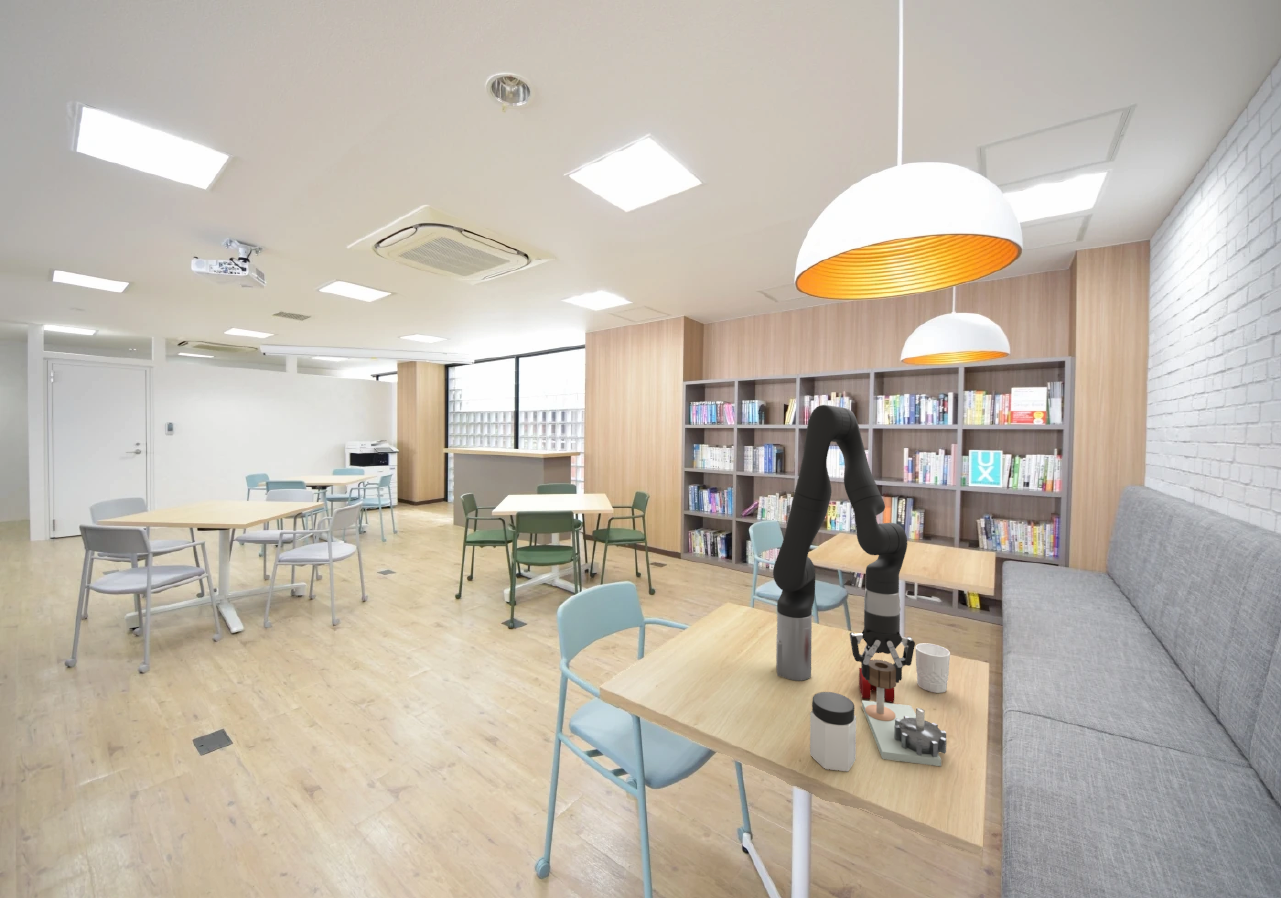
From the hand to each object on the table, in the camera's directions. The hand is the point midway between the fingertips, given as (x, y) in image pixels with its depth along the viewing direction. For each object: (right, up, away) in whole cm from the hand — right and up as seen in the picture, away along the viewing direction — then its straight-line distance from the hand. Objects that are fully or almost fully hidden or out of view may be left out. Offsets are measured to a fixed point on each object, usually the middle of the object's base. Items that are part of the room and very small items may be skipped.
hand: (881, 679), depth 117 cm
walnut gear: (0, -1, 0) cm, 1 cm away
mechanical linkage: (+5, -9, +15) cm, 18 cm away
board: (+1, -10, -5) cm, 11 cm away
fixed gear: (+3, -8, -11) cm, 14 cm away
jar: (-17, -10, -13) cm, 24 cm away
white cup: (+21, -9, +15) cm, 27 cm away
